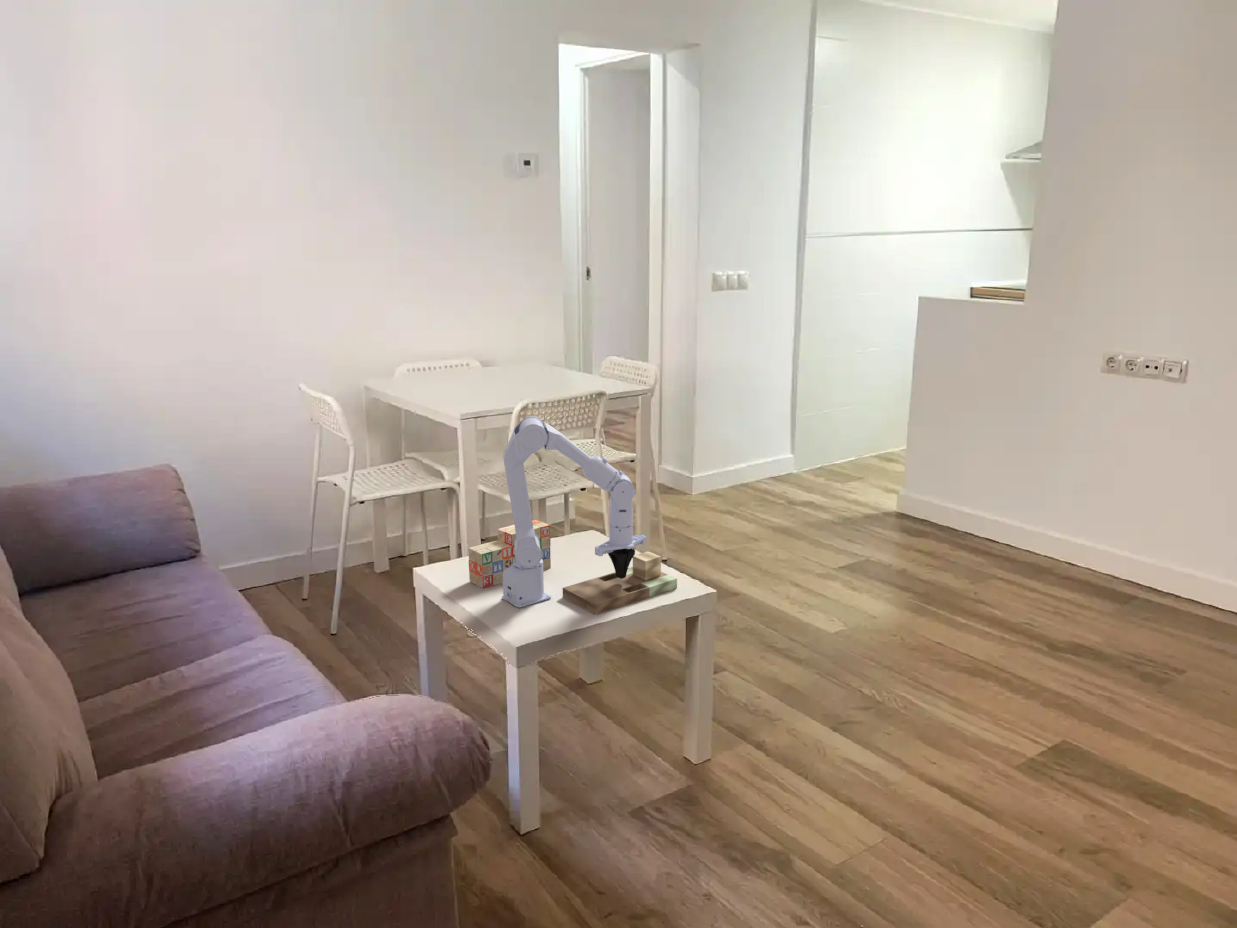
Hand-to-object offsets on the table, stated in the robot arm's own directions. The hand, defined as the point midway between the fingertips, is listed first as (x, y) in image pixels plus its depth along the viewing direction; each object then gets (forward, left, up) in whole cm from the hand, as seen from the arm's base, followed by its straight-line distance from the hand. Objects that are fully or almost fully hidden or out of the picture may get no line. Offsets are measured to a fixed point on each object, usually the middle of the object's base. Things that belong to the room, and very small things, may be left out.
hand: (620, 577), depth 235 cm
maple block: (+8, 0, -2) cm, 8 cm away
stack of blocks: (-15, +27, -4) cm, 31 cm away
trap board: (0, 0, -4) cm, 4 cm away
